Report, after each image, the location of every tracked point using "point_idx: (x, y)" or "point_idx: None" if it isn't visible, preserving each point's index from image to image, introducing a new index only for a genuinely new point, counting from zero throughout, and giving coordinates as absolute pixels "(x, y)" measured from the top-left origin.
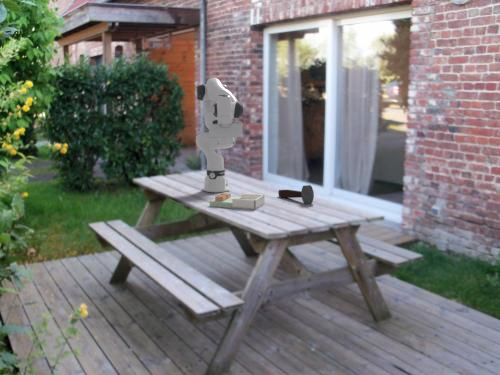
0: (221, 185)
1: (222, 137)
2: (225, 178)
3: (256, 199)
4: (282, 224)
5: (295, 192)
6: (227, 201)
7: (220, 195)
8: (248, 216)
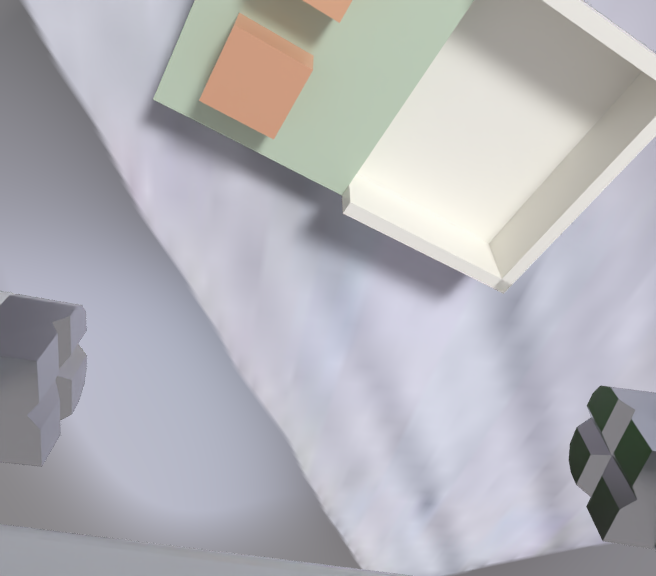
0: None
1: (141, 561)
2: None
3: (524, 266)
4: (483, 510)
5: None
6: (312, 137)
7: (255, 54)
8: (382, 388)
